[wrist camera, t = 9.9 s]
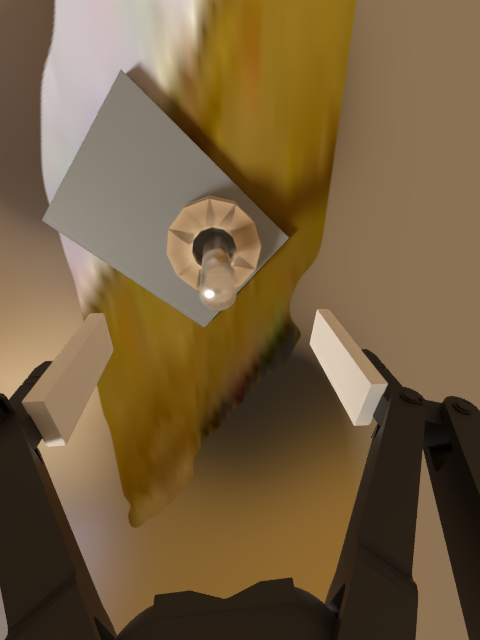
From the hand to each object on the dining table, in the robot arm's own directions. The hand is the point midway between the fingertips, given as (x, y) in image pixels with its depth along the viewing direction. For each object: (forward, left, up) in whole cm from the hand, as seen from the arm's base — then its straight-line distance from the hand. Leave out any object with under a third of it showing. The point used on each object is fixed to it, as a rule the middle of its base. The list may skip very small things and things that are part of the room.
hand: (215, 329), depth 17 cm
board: (-5, -2, -22) cm, 22 cm away
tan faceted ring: (0, 0, -20) cm, 20 cm away
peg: (0, 0, -20) cm, 20 cm away
